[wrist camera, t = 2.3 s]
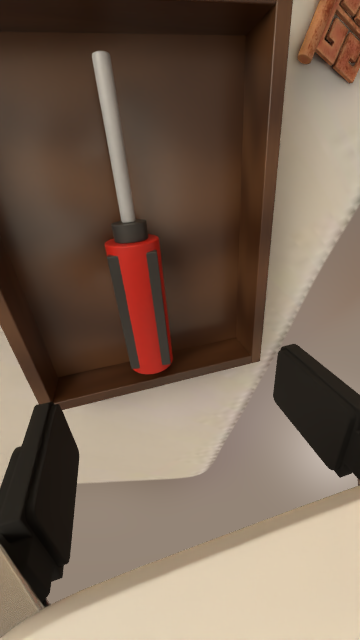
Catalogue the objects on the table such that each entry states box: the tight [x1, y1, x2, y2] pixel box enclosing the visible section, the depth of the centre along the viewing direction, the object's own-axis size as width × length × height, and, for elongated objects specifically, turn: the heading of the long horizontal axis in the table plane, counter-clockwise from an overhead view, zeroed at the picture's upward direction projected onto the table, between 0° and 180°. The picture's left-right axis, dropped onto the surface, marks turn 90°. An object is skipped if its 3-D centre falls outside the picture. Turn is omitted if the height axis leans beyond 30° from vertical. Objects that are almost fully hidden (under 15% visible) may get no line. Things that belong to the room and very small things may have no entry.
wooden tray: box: [0, 0, 293, 410], centre depth 16 cm, size 21×17×3 cm
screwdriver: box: [92, 51, 173, 374], centre depth 15 cm, size 17×3×3 cm, turn 5°
